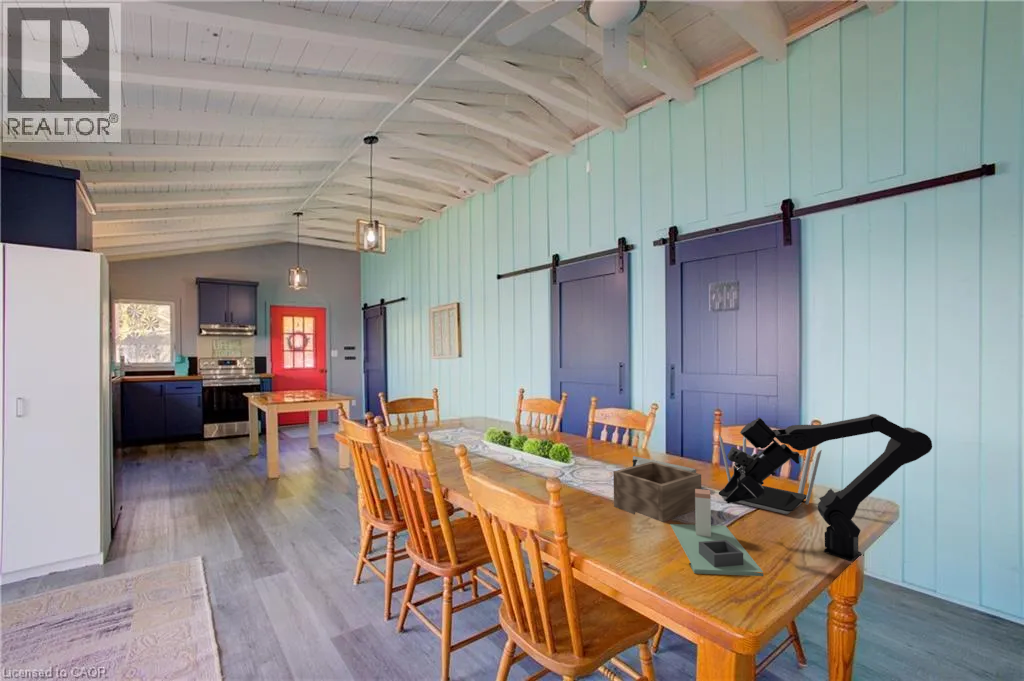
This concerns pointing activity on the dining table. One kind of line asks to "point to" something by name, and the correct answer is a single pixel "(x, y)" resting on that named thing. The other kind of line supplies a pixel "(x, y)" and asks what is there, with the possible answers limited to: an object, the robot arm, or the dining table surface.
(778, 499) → the wireless router
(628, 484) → the open wooden crate
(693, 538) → the board
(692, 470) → the decorative block
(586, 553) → the dining table surface
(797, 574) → the dining table surface
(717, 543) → the dark grey tray
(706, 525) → the plug
